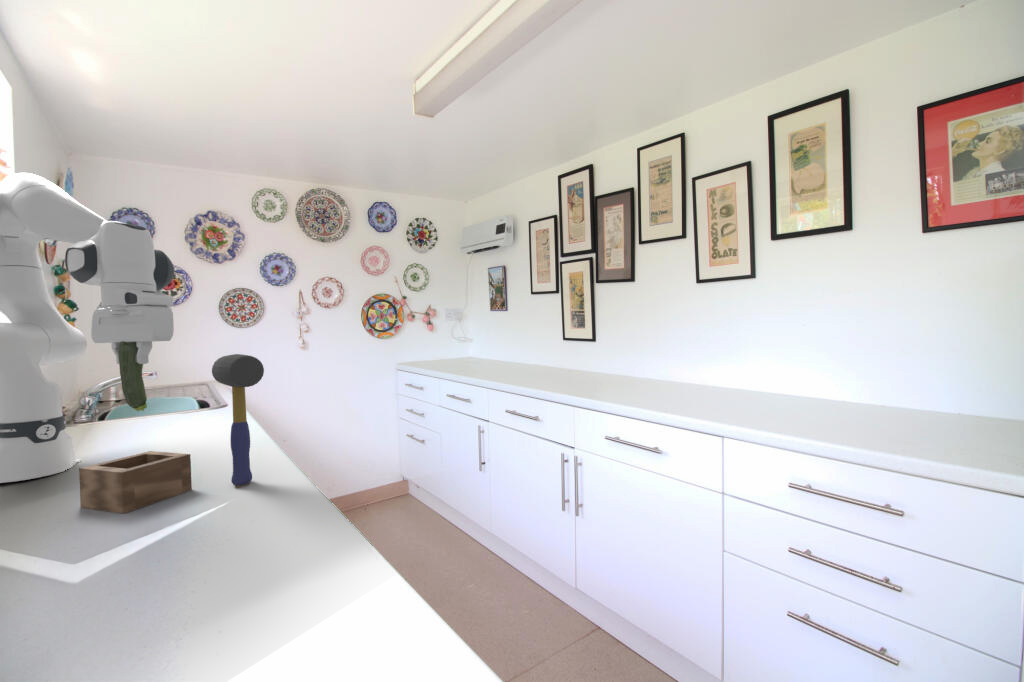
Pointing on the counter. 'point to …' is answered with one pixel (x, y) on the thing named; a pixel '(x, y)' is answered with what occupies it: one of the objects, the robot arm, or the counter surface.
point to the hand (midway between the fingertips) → (132, 364)
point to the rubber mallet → (239, 407)
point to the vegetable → (131, 376)
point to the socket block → (134, 481)
